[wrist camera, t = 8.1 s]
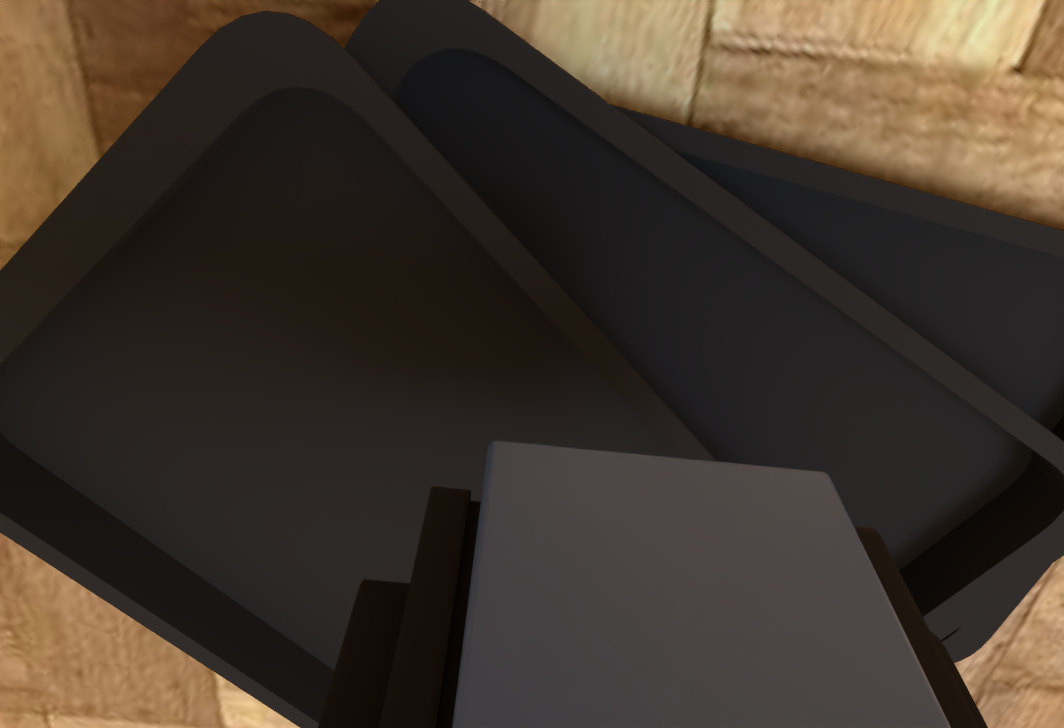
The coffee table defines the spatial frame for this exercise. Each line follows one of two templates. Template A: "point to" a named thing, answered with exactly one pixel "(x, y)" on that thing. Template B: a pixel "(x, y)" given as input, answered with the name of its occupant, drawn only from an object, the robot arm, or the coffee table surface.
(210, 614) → the tray
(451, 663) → the robot arm
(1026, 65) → the coffee table surface
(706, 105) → the coffee table surface
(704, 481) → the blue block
